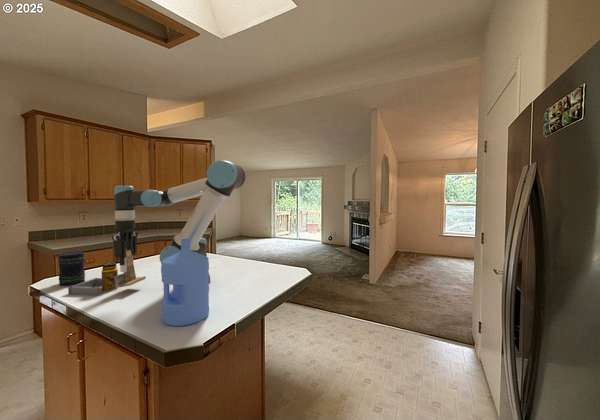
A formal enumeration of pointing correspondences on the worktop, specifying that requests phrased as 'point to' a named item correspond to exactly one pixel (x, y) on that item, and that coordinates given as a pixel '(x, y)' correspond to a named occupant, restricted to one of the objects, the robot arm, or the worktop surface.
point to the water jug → (185, 287)
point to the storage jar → (71, 268)
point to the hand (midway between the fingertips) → (126, 270)
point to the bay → (86, 287)
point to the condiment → (108, 277)
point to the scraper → (128, 273)
